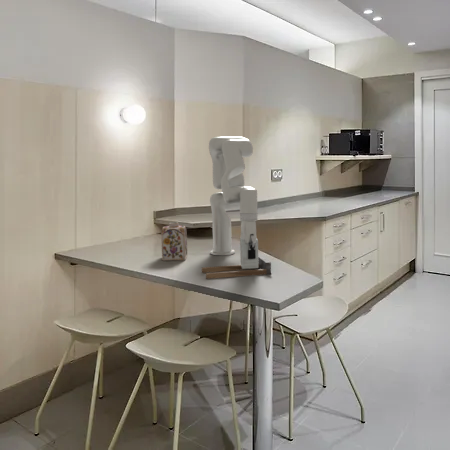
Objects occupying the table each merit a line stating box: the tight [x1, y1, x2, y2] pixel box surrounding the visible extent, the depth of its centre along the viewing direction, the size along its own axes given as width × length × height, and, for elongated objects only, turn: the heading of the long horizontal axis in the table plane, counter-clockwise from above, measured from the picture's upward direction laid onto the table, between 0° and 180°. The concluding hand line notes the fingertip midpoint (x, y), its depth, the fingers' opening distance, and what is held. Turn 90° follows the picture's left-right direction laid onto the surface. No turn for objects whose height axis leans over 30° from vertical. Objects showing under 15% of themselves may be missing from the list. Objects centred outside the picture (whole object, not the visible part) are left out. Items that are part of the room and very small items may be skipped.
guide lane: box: [201, 256, 272, 279], centre depth 216 cm, size 12×28×5 cm, turn 102°
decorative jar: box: [160, 221, 188, 262], centre depth 247 cm, size 12×12×18 cm
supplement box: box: [239, 237, 259, 270], centre depth 217 cm, size 7×7×13 cm
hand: (249, 256), depth 217 cm, fingers closed on supplement box, 8 cm apart
